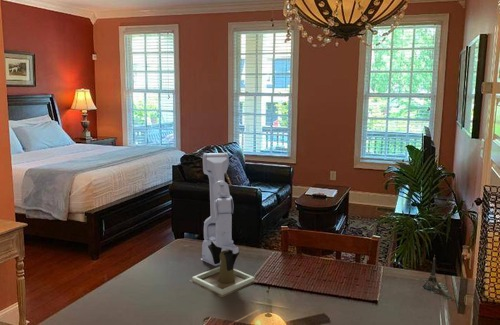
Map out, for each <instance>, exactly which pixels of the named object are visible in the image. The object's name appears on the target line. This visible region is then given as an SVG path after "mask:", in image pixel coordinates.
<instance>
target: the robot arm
mask: <svg viewBox="0 0 500 325" xmlns="http://www.w3.org/2000/svg"><path fill="white" fill-rule="evenodd" d="M229 166H230V157H229V154H228V153H227V152H209V153H207V152H204V153H203V154H202V171H203V174H204V175H207V177H208V180H209V182H208V183H209V201H210V202H209V205H210V207H209V208H210V210H209V211H210V216H209V217H207V218H206V219H205V220H204V221H203V239H204V240H203V241H202V243H201V244H202V245H201V256H202V258H200V260H201V261H203V262H205V263H207V264H210V265H212V266H214V267H218V266H220V265H221V260H220V253H221V252H222V251H226V250H228V252H225V253H224V255H225V258H226V264H227V270H228V271H230V270H233V268H234V266H235V263H236V260H237V258H238V256H239V254H240V251H239V247H238V246H237V245H235V244H234V240H233V238H232V235H233V234H232V232H233V231H232V228H233V226H232V224H233V222H232V219H233V218H232V217H233V216H232V214H234V208H235V207H234V200H233V197H232V195H231V194H230V187H229V184H228V183H227V182H226V181H225V174H227V171H228V168H229Z"/></svg>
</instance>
